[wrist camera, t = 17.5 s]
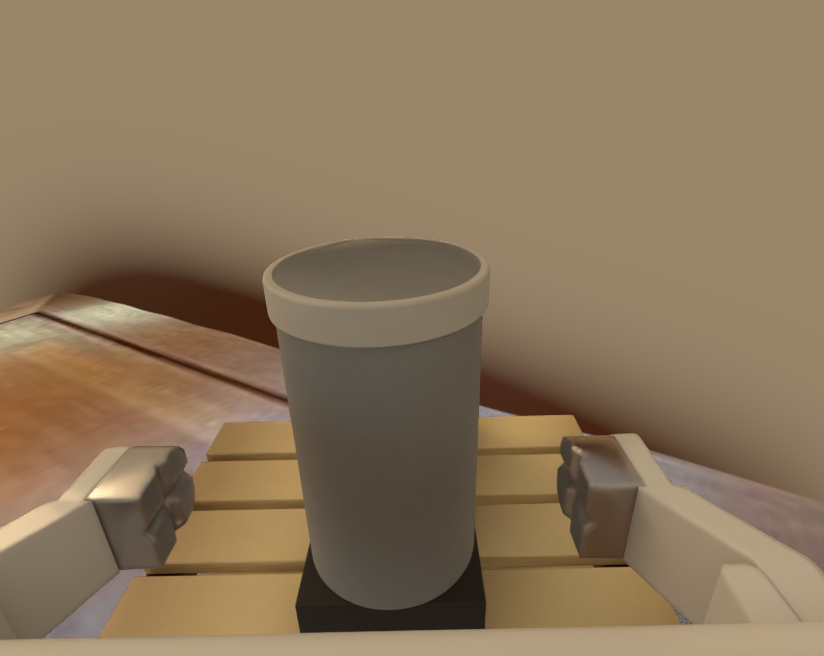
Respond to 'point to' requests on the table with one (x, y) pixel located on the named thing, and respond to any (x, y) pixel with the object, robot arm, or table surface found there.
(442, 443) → the grey vase on base
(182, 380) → the table surface
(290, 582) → the shoe rack
